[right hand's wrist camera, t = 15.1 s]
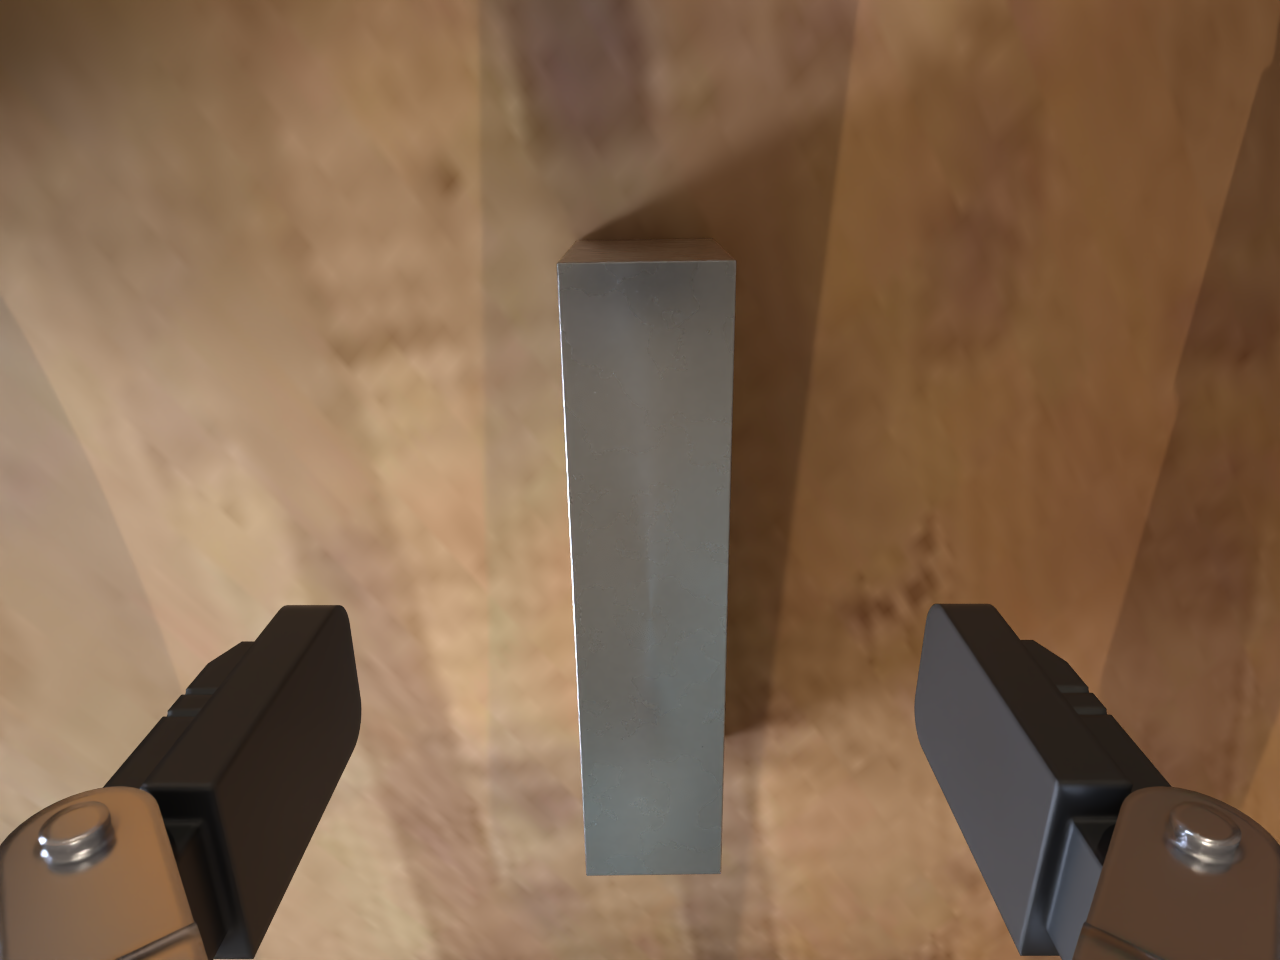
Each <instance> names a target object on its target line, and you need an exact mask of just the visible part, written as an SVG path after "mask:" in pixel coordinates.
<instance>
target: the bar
mask: <svg viewBox="0 0 1280 960" xmlns="http://www.w3.org/2000/svg"><path fill="white" fill-rule="evenodd" d="M557 279H558V300H559V321H560V341H561V362H562V382H563V403H564V424H565V444H566V465H567V485H568V506H569V527H570V547H571V568H572V588H573V609H574V630H575V650H576V671H577V691H578V712H579V733H580V753H581V774H582V794H583V815H584V836H585V856H586V875H587V876H597V875H671V874H721V854H722V815H723V775H724V735H725V695H726V655H727V616H728V576H729V536H730V496H731V457H732V417H733V377H734V337H735V298H736V260H735V259H734V258H733V257H732V256H731V255H730V254H729V253H728V252H727V251H726V250H725V249H724V248H722V247H721V246H720V245H719V244H718V243H717V242H716V241H715V240H714V239H650V240H586V241H575V242H574V244H573V245H572V246H571V247H570V248H569V250H568V251H567V252H566V253H565V254H564V256H563V257H562V258H561V259H560V260H559V262H558V263H557Z"/></svg>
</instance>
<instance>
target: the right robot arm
mask: <svg viewBox="0 0 1280 960" xmlns="http://www.w3.org/2000/svg"><path fill="white" fill-rule="evenodd" d="M360 723H361V698H360V691H359V684H358V677H357V670H356V664H355V657H354V650H353V643H352V636H351V629H350V623H349V618H348V615H347V612H346V610H345V609H344V607H342V606H340V605H286V606H284V607H282V608H281V609H280V610H279V611H278V612H277V614H276V615H275V616H274V618H273V619H272V620H271V621H270V623H269V624H268V625H267V626H266V628H265V629H264V630H263V631H262V633H261V634H260V635H259V637H258V638H257V639H256V640H255V642H241V643H239V644H238V645H236V646H234V647H233V648H231V649H230V650H228V651H227V652H225V653H224V654H222V655H220V656H219V657H217V658H216V659H214V660H213V661H211V662H210V663H208V664H207V665H206V666H205V668H204V669H203V670H202V671H201V672H200V673H199V675H198V676H197V677H196V678H195V679H194V681H193V682H192V683H191V684H190V685H189V686H188V688H187V689H186V694H185V695H181V696H180V697H179V698H178V699H177V701H176V702H175V703H174V704H173V705H172V707H171V708H170V709H169V710H168V715H167V717H162V718H161V720H160V721H159V722H158V723H157V724H156V725H155V727H154V728H153V729H152V730H151V731H150V733H149V734H148V735H147V736H146V737H145V738H144V740H143V741H142V742H141V743H140V744H139V746H138V747H137V748H136V749H135V750H134V751H133V753H132V754H131V755H130V756H129V757H128V759H127V760H126V761H125V762H124V763H123V764H122V766H121V767H120V768H119V769H118V770H117V772H116V773H115V774H114V775H113V776H112V777H111V779H110V780H109V781H108V782H107V783H106V785H105V786H104V787H103V788H98V789H94V790H90V791H85V792H82V793H79V794H76V795H73V796H70V797H68V798H65V799H63V800H60V801H58V802H56V803H54V804H52V805H50V806H48V807H46V808H44V809H43V810H41V811H39V812H38V813H36V814H34V815H33V816H31V817H30V818H29V819H27V820H26V821H25V822H23V823H22V824H21V825H19V826H18V827H17V828H16V829H15V830H14V831H13V832H12V833H10V834H9V836H8V837H7V838H6V839H5V840H4V841H3V842H2V844H1V845H0V960H213V959H254V956H255V954H256V952H257V950H258V948H259V946H260V944H261V942H262V940H263V938H264V936H265V934H266V931H267V929H268V927H269V925H270V923H271V921H272V919H273V917H274V915H275V913H276V911H277V909H278V906H279V904H280V902H281V900H282V898H283V896H284V894H285V892H286V890H287V888H288V886H289V884H290V881H291V879H292V877H293V875H294V873H295V871H296V869H297V867H298V865H299V863H300V861H301V859H302V856H303V854H304V852H305V850H306V848H307V846H308V844H309V842H310V840H311V838H312V836H313V833H314V831H315V829H316V827H317V825H318V823H319V821H320V819H321V817H322V815H323V813H324V811H325V808H326V806H327V804H328V802H329V800H330V798H331V796H332V794H333V792H334V790H335V788H336V786H337V783H338V781H339V779H340V777H341V775H342V773H343V771H344V769H345V767H346V765H347V763H348V761H349V758H350V756H351V754H352V752H353V750H354V748H355V745H356V742H357V739H358V735H359V730H360ZM915 723H916V729H917V734H918V738H919V741H920V744H921V747H922V749H923V751H924V753H925V755H926V757H927V760H928V762H929V764H930V766H931V768H932V770H933V772H934V774H935V776H936V779H937V781H938V783H939V785H940V787H941V789H942V791H943V793H944V795H945V798H946V800H947V802H948V804H949V806H950V808H951V810H952V812H953V814H954V817H955V819H956V821H957V823H958V825H959V827H960V829H961V831H962V833H963V836H964V838H965V840H966V842H967V844H968V846H969V848H970V850H971V852H972V855H973V857H974V859H975V861H976V863H977V865H978V867H979V869H980V871H981V873H982V876H983V878H984V880H985V882H986V884H987V886H988V888H989V890H990V892H991V895H992V897H993V899H994V901H995V903H996V905H997V907H998V909H999V911H1000V914H1001V916H1002V918H1003V920H1004V922H1005V924H1006V926H1007V928H1008V930H1009V933H1010V935H1011V937H1012V939H1013V941H1014V943H1015V945H1016V947H1017V949H1018V952H1019V954H1020V956H1060V957H1061V959H1062V960H1280V845H1279V844H1278V842H1277V841H1276V840H1275V839H1274V838H1273V837H1272V836H1271V834H1270V833H1268V832H1267V831H1266V830H1265V829H1264V828H1263V827H1262V826H1261V825H1259V824H1258V823H1257V822H1255V821H1254V820H1253V819H1251V818H1250V817H1249V816H1247V815H1246V814H1244V813H1242V812H1241V811H1239V810H1237V809H1236V808H1234V807H1232V806H1230V805H1228V804H1226V803H1224V802H1222V801H1220V800H1217V799H1215V798H1212V797H1210V796H1207V795H1204V794H1201V793H1198V792H1195V791H1190V790H1186V789H1182V788H1175V787H1171V785H1170V784H1169V783H1168V782H1167V781H1166V780H1165V778H1164V777H1163V776H1162V775H1161V774H1160V772H1159V771H1158V770H1157V769H1156V768H1155V766H1154V765H1153V764H1152V763H1151V762H1150V760H1149V759H1148V758H1147V757H1146V756H1145V754H1144V753H1143V752H1142V751H1141V750H1140V749H1139V747H1138V746H1137V745H1136V744H1135V743H1134V741H1133V740H1132V739H1131V738H1130V737H1129V735H1128V734H1127V733H1126V732H1125V731H1124V729H1123V728H1122V727H1121V726H1120V725H1119V724H1118V722H1117V721H1116V720H1115V719H1114V718H1113V716H1112V715H1107V712H1106V708H1105V707H1104V706H1103V704H1102V703H1101V702H1100V701H1099V700H1098V698H1097V697H1096V696H1095V695H1094V694H1093V693H1089V691H1088V687H1087V685H1086V684H1085V683H1084V682H1083V681H1082V679H1081V678H1080V677H1079V676H1078V675H1077V673H1076V672H1075V671H1074V670H1073V669H1072V667H1071V666H1070V665H1069V664H1068V663H1067V662H1066V661H1065V660H1063V659H1061V658H1060V657H1058V656H1057V655H1055V654H1054V653H1052V652H1051V651H1049V650H1048V649H1046V648H1044V647H1043V646H1041V645H1040V644H1038V643H1037V642H1035V641H1034V640H1020V639H1019V638H1018V636H1017V635H1016V634H1015V633H1014V631H1013V630H1012V629H1011V628H1010V626H1009V625H1008V624H1007V622H1006V621H1005V620H1004V619H1003V617H1002V616H1001V615H1000V613H999V612H998V611H997V610H996V608H995V607H994V606H992V605H991V604H934V605H933V606H932V607H931V608H930V610H929V612H928V615H927V620H926V626H925V633H924V639H923V646H922V653H921V660H920V667H919V674H918V681H917V688H916V695H915Z"/></svg>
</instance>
